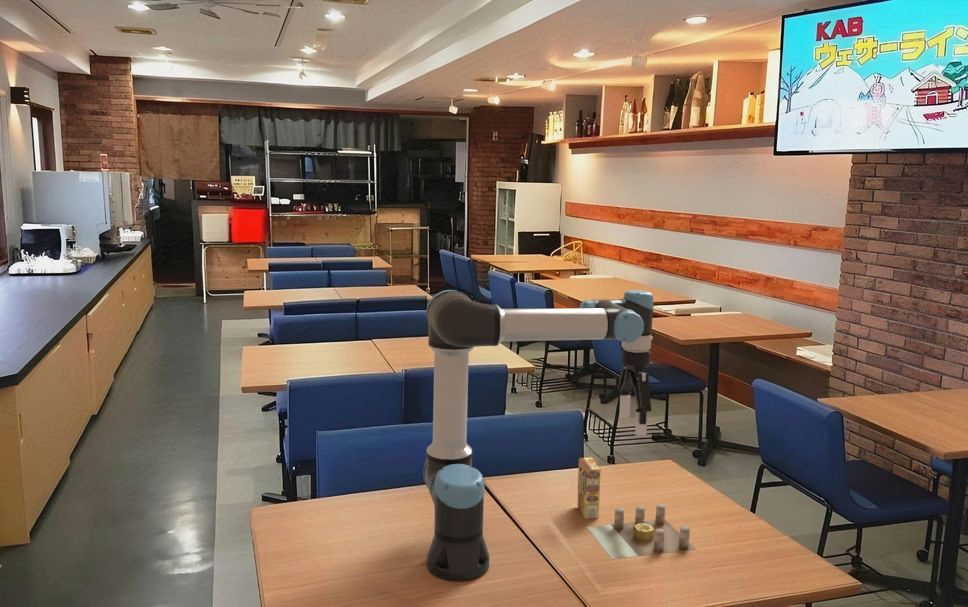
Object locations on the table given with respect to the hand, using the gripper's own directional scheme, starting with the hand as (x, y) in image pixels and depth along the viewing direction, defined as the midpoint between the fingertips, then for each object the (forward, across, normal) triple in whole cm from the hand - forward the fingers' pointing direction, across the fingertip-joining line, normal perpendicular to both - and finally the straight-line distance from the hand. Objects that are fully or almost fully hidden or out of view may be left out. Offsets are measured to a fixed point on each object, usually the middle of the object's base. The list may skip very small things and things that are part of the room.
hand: (632, 426), depth 197 cm
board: (+28, -11, 0) cm, 30 cm away
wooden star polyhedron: (+26, -11, -1) cm, 29 cm away
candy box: (+28, +5, +10) cm, 30 cm away
